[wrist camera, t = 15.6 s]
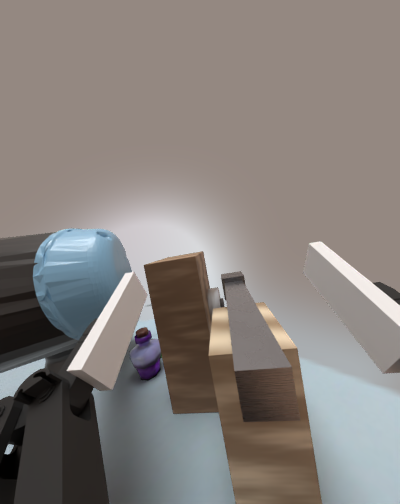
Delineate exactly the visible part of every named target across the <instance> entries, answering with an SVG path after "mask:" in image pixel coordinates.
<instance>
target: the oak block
mask: <svg viewBox="0 0 400 504" xmlns="http://www.w3.org/2000/svg"><path fill="white" fill-rule="evenodd" d="M255 304H256V305H257V307H258V309H259V311H260V312H261V314H262V316H263V317H264V319H265V321H266V323H267V324H268V326H269V328H270V330H271V331H272V333H273V335H274V337H275V338H276V340H277V342H278V344H279V345H280V347H281V349H282V351H283V352H284V354H285V356H286V358H287V359H288V361H289V363H290V365H291V366H292V371H293V377H294V383H295V389H296V395H297V401H298V408H299V414H300V420H301V421H267V422H243V416H242V411H241V405H240V400H239V394H238V389H237V383H236V377H235V372H234V363H233V354H232V345H231V337H230V328H229V319H228V310H227V307H222V308H214V309H213V314H212V325H211V335H210V345H209V355H208V356H209V361H210V367H211V372H212V378H213V383H214V388H215V394H216V399H217V404H218V410H219V415H220V421H221V426H222V431H223V437H224V442H225V448H226V453H227V458H228V464H229V469H230V475H231V480H232V485H233V491H234V496H235V501H236V504H322V500H321V494H320V488H319V481H318V475H317V469H316V462H315V456H314V450H313V444H312V437H311V431H310V425H309V419H308V412H307V406H306V400H305V394H304V387H303V381H302V375H301V368H300V362H299V356H298V350H297V347H296V346H295V344H294V343H293V342H292V340H291V339H290V337H289V336H288V335H287V333H286V332H285V331H284V329H283V328H282V326H281V325H280V324H279V323H278V321H277V320H276V318H275V317H274V316H273V314H272V313H271V311H270V310H269V309H268V307H267V306H266V304H265V303H264V302H262V303H255Z"/></svg>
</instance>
